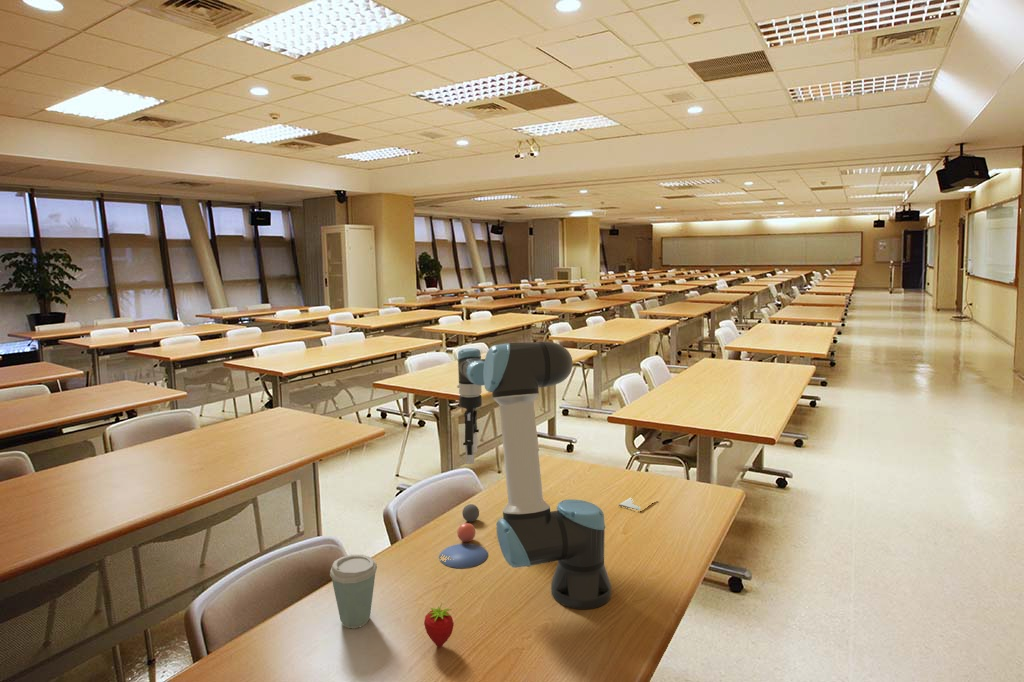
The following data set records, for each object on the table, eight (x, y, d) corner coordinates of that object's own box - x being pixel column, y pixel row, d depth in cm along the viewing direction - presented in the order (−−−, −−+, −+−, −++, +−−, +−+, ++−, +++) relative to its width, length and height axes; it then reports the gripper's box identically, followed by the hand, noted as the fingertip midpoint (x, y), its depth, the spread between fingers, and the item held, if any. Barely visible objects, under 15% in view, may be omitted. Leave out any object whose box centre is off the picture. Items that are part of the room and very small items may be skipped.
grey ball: (478, 524, 187) (478, 508, 186) (461, 524, 187) (461, 508, 186) (480, 517, 192) (479, 501, 192) (463, 517, 193) (463, 501, 192)
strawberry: (441, 632, 132) (440, 591, 131) (460, 649, 126) (459, 606, 125) (419, 643, 128) (417, 601, 127) (437, 660, 123) (435, 616, 121)
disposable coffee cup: (361, 602, 144) (358, 546, 142) (389, 619, 137) (386, 559, 136) (323, 623, 136) (320, 563, 134) (351, 641, 129) (347, 578, 127)
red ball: (474, 545, 173) (474, 527, 172) (456, 545, 173) (456, 527, 172) (476, 536, 179) (476, 519, 178) (458, 536, 179) (458, 519, 178)
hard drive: (639, 510, 194) (657, 498, 203) (618, 503, 199) (636, 492, 208) (639, 515, 194) (657, 503, 203) (618, 508, 199) (636, 497, 209)
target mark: (486, 568, 160) (486, 567, 160) (435, 568, 160) (435, 567, 160) (489, 544, 174) (489, 543, 174) (442, 544, 174) (442, 543, 174)
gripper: (462, 387, 206) (464, 446, 209) (454, 403, 182) (456, 469, 185) (483, 387, 206) (485, 446, 208) (478, 403, 182) (480, 469, 185)
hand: (471, 457), depth 197 cm, fingers open, 12 cm apart
